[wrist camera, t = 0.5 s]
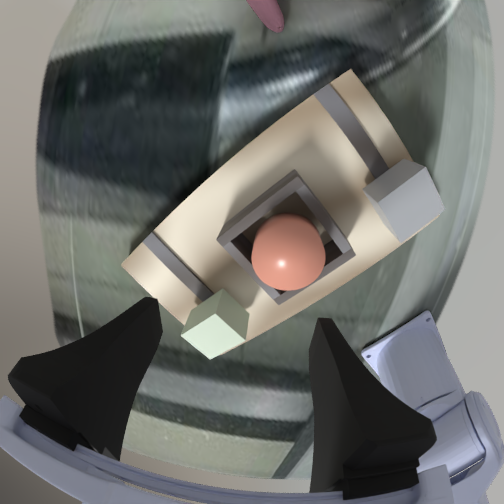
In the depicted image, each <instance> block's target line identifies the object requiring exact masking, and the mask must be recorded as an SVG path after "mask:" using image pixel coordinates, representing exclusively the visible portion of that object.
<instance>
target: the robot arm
mask: <svg viewBox="0 0 504 504" xmlns="http://www.w3.org/2000/svg"><path fill="white" fill-rule="evenodd" d="M427 318H428V319H427ZM162 333H163V330H162V324H161V318H160V311H159V305H158V299H157V298H151V297H145V298H143V299H142V300H140V301H139V302H137V303H136V304H134V305H133V306H132V307H130V308H129V309H128V310H126V311H125V312H123V313H122V314H120V315H119V316H118V317H116V318H115V319H113V320H112V321H110V322H109V323H107V324H106V325H104V326H102V327H101V328H99V329H98V330H96V331H94V332H93V333H91V334H89V335H87V336H85V337H83V338H81V339H79V340H77V341H75V342H72V343H70V344H68V345H65V346H63V347H60V348H58V349H55V350H52V351H48V352H45V353H41V354H37V355H33V356H27V357H22V358H21V359H20V360H19V361H18V363H17V364H16V365H15V367H14V368H13V369H12V371H11V372H10V373H9V375H8V380H9V382H10V384H11V386H12V387H13V389H14V390H15V391H16V393H17V394H18V395H19V397H20V398H21V399H22V400H23V401H24V403H25V404H26V405H25V407H24V408H22V407H21V406H20V405H18V404H17V403H16V402H14V401H13V400H11V399H10V398H8V397H7V396H6V395H4V396H3V397H2V399H1V400H0V447H1V448H2V449H4V450H5V451H6V452H7V453H8V454H10V455H11V456H12V457H13V458H15V459H16V460H17V461H19V462H20V463H21V464H22V465H24V466H25V467H27V468H28V469H29V470H31V471H32V472H34V473H35V474H37V475H38V476H39V477H41V478H43V479H44V480H46V481H47V482H49V483H50V484H52V485H53V486H55V487H57V488H58V489H60V490H62V491H64V492H65V493H67V494H69V495H71V496H72V497H74V498H76V499H78V500H80V501H82V504H192V503H187V502H183V501H178V500H174V499H170V498H167V497H163V496H159V495H156V494H152V493H149V492H146V491H143V490H140V489H137V488H134V487H131V486H128V485H125V484H124V482H123V481H126V482H128V483H131V484H134V485H137V486H140V487H143V488H146V489H149V490H152V491H156V492H159V493H163V494H167V495H170V496H174V497H179V498H182V499H187V500H192V501H197V502H202V503H207V504H489V502H488V498H487V495H486V490H487V489H488V488H489V486H490V485H491V483H492V482H493V480H494V479H495V477H496V475H497V474H498V472H499V471H500V469H501V467H502V465H503V463H504V444H503V441H502V439H501V434H500V430H499V427H498V424H497V422H496V419H495V417H494V415H493V413H492V411H491V409H490V407H489V405H488V403H487V401H486V400H485V399H484V397H483V396H482V394H481V393H479V392H473V391H470V392H469V393H468V394H466V393H465V391H464V389H463V387H462V385H461V383H460V381H459V379H458V376H457V374H456V372H455V370H454V368H453V366H452V364H451V362H450V360H449V359H448V356H447V353H446V350H445V348H444V345H443V342H442V340H441V337H440V334H439V332H438V329H437V327H436V324H435V322H434V319H433V317H432V315H431V313H430V311H425V312H423V313H422V314H420V315H419V316H417V317H416V318H414V319H413V320H411V321H410V322H408V323H407V324H405V325H403V326H402V327H400V328H399V329H397V330H396V331H394V332H392V333H391V334H389V335H387V336H386V337H384V338H382V339H381V340H379V341H377V342H376V343H374V344H372V345H370V346H369V347H367V348H365V349H363V350H362V352H361V354H362V356H363V357H364V359H365V360H366V361H367V362H368V363H369V365H370V366H371V367H372V368H373V369H374V370H375V372H376V373H377V374H378V375H379V376H380V379H381V383H382V384H381V383H380V382H379V381H378V380H377V379H376V378H375V377H374V376H373V375H372V374H371V373H370V372H369V370H368V369H367V368H366V367H365V366H364V364H363V363H362V362H361V361H360V360H359V358H358V357H357V356H356V354H355V353H354V351H353V350H352V349H351V347H350V346H349V344H348V343H347V341H346V340H345V339H344V337H343V335H342V334H341V332H340V331H339V329H338V328H337V326H336V325H335V323H334V321H333V320H332V319H331V318H318V320H317V323H316V327H315V330H314V334H313V338H312V341H311V345H310V348H309V374H310V382H311V390H312V398H313V406H314V452H313V466H312V476H311V484H310V492H309V493H268V492H267V493H266V492H253V491H243V490H234V489H225V488H219V487H213V486H206V485H201V484H196V483H191V482H187V481H182V480H178V479H174V478H170V477H166V476H162V475H159V474H155V473H152V472H149V471H145V470H142V469H139V468H136V467H133V466H130V465H127V464H124V463H122V462H120V455H121V449H122V444H123V439H124V434H125V430H126V425H127V422H128V418H129V414H130V411H131V408H132V404H133V401H134V398H135V395H136V392H137V390H138V388H139V385H140V383H141V381H142V379H143V377H144V375H145V373H146V371H147V369H148V367H149V365H150V363H151V361H152V359H153V357H154V355H155V352H156V350H157V348H158V345H159V342H160V339H161V336H162ZM482 458H483V459H482ZM481 459H482V460H481ZM479 460H481V461H480V462H478V463H477V464H475V465H473V464H474V463H476V462H477V461H479ZM471 465H473V466H472V467H470V468H468V467H469V466H471ZM466 468H468V469H466ZM464 469H466V470H465V471H463V470H464ZM461 471H463V472H461ZM459 472H461V473H459ZM457 473H459V474H458V475H456V476H454V475H455V474H457ZM452 476H454V477H452ZM114 477H115V478H114ZM450 477H452V478H450ZM116 478H118V479H116ZM119 479H120V480H123V481H120V480H119Z"/></svg>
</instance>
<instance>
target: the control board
mask: <svg viewBox="0 0 504 504" xmlns="http://www.w3.org/2000/svg"><path fill="white" fill-rule="evenodd" d="M402 159H406V160H409V161H412V162H413V160H412V158H411V156H410V155H409V153H408V151H407V149H406V148H405V146H404V144H403V143H402V141H401V139H400V138H399V136H398V134H397V133H396V131H395V130H394V128H393V126H392V125H391V123H390V122H389V120H388V119H387V117H386V116H385V114H384V113H383V111H382V110H381V108H380V107H379V105H378V104H377V103H376V101H375V100H374V98H373V97H372V96H371V94H370V93H369V92H368V90H367V89H366V88H365V86H364V85H363V84H362V82H361V81H360V80H359V79H358V77H357V76H356V75H355V74H354V72H353V71H352V70H351V69H350V70H348V71H347V72H345V73H344V74H342V75H341V76H339V77H338V78H336V79H335V80H333V81H332V82H330V83H329V84H327V85H326V86H324V87H323V88H321V89H320V90H319V91H317V92H316V93H314V94H313V95H312V96H310V97H309V98H307V99H306V100H305V101H303V102H302V103H300V104H299V105H298V106H296V107H295V108H294V109H292V110H291V111H290V112H288V113H287V114H286V115H284V116H283V117H282V118H280V119H279V120H278V121H277V122H275V123H274V124H273V125H271V126H270V127H269V128H268V129H266V130H265V131H264V132H263V133H261V134H260V135H259V136H258V137H256V138H255V139H254V140H253V141H251V142H250V143H249V144H248V145H247V146H245V147H244V148H243V149H242V150H241V151H239V152H238V153H237V154H236V155H235V156H233V157H232V158H231V159H230V160H229V161H228V162H226V163H225V164H224V165H223V166H222V167H221V168H219V169H218V170H217V171H216V172H215V173H214V174H213V175H212V176H210V177H209V178H208V179H207V180H206V181H205V182H204V183H203V184H202V185H200V186H199V187H198V188H197V189H196V190H195V191H194V192H193V193H192V194H191V195H190V196H188V197H187V198H186V199H185V200H184V201H183V202H182V203H181V204H180V205H179V206H178V207H177V208H176V209H175V210H174V211H173V212H172V213H171V214H170V215H169V216H168V217H167V218H166V219H165V220H164V221H162V222H161V223H160V224H159V225H158V226H157V227H156V228H155V229H154V231H153V232H151V234H150V235H149V236H148V237H147V238H146V239H145V240H144V241H143V242H142V243H141V244H140V245H139V246H138V247H137V248H136V249H135V250H134V251H133V252H132V253H131V254H130V255H129V257H128V258H127V259H126V260H125V261H124V262H123V263H122V264H121V266H122V267H123V268H124V269H125V270H126V271H127V272H128V273H129V274H130V275H131V276H132V277H133V278H134V279H135V280H136V281H137V282H138V283H139V284H140V285H141V286H142V287H143V288H144V289H145V290H146V291H148V292H149V293H150V294H151V295H152V296H153V297H154V298H157V299H158V302H159V303H160V304H161V305H162V306H163V307H165V308H166V309H167V310H168V311H169V312H170V313H171V314H172V315H173V316H174V317H176V318H177V319H178V320H179V321H180V322H181V323H182V324H183V325H185V324H186V321H187V319H188V316H189V314H190V312H191V310H192V309H194V308H195V307H197V306H198V305H199V304H201V303H202V302H204V301H205V300H207V299H208V298H210V297H211V296H212V295H214V294H215V293H217V292H218V291H220V290H221V289H222V288H223V289H224V290H225V291H226V292H228V293H229V294H230V295H231V296H232V297H233V298H234V299H235V300H236V301H237V302H238V303H239V304H240V305H241V306H242V307H243V308H244V309H245V310H246V311H247V312H248V313H249V314H250V315H249V322H248V329H247V336H246V341H244V342H242V343H241V344H243V343H245V342H247V341H249V340H250V339H252V338H254V337H256V336H258V335H260V334H261V333H263V332H265V331H267V330H269V329H270V328H272V327H274V326H276V325H277V324H279V323H281V322H283V321H284V320H286V319H288V318H290V317H291V316H293V315H295V314H296V313H298V312H300V311H301V310H303V309H305V308H306V307H308V306H310V305H311V304H313V303H315V302H316V301H318V300H319V299H321V298H323V297H324V296H326V295H328V294H329V293H331V292H332V291H334V290H335V289H337V288H339V287H340V286H342V285H343V284H345V283H346V282H348V281H349V280H351V279H352V278H354V277H355V276H357V275H358V274H360V273H361V272H363V271H364V270H366V269H367V268H369V267H370V266H372V265H373V264H375V263H376V262H378V261H379V260H381V259H382V258H383V257H385V256H386V255H388V254H389V253H391V252H392V251H393V250H395V249H396V248H397V247H399V246H400V245H402V244H403V243H404V242H406V241H407V240H408V239H410V238H411V237H413V236H414V235H415V234H417V233H418V232H419V231H421V230H422V229H423V228H424V227H426V226H427V225H428V224H430V223H431V222H432V221H434V220H435V219H436V218H437V217H439V216H440V215H438V216H437V217H435V218H434V219H433V220H431V221H430V222H429V223H428V224H426V225H425V226H424V227H422V228H421V229H420V230H418V231H417V232H416V233H414V234H413V235H412V236H410V237H409V238H408V239H406V240H405V241H403V242H402V243H400V242H399V241H398V239H397V238H396V237H395V236H394V235H393V234H392V233H391V232H390V231H389V229H388V228H387V227H386V226H385V225H384V224H383V222H382V220H381V219H380V217H379V215H378V214H377V212H376V210H375V209H374V207H373V206H372V204H371V202H370V201H369V199H368V198H367V196H366V195H365V193H364V191H363V190H362V189H363V188H364V187H366V186H367V185H368V184H370V183H371V182H373V181H374V180H375V179H377V178H378V177H379V176H381V175H382V174H383V173H385V172H386V171H388V170H389V169H390V168H392V167H393V166H394V165H396V164H397V163H398V162H400V161H401V160H402ZM285 212H291V213H297V214H300V215H302V216H305V217H306V218H308V219H309V220H310V221H311V222H312V223H313V224H314V225H315V226H316V228H317V230H318V232H319V235H320V237H321V240H322V243H323V246H324V249H325V265H324V268H323V270H322V272H321V274H320V275H319V276H318V278H317V279H316V280H315V281H314V282H312V283H311V284H309V285H308V286H306V287H303V288H301V289H297V290H289V291H287V290H279V289H275V288H273V287H270V286H268V285H267V284H265V283H264V282H263V281H262V280H260V278H259V277H258V276H257V274H256V273H255V271H254V269H253V265H252V251H253V245H254V240H255V235H256V232H257V230H258V228H259V227H260V225H261V224H262V223H263V222H264V221H265V220H266V219H268V218H269V217H271V216H273V215H276V214H279V213H285ZM241 344H239V345H241ZM239 345H237V346H239ZM237 346H235V347H237ZM235 347H233V348H235ZM233 348H231V349H229V350H227V351H225V352H223V353H222V354H224V353H226V352H228V351H230V350H232V349H233ZM222 354H220V355H222Z"/></svg>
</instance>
